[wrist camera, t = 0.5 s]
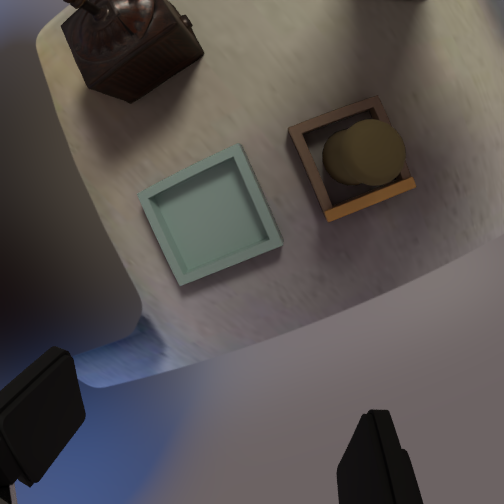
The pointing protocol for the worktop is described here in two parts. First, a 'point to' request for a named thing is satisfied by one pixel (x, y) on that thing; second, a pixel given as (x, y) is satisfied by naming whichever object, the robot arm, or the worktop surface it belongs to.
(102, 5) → the brown coffee grinder
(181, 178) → the tray
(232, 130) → the worktop surface
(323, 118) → the holder frame
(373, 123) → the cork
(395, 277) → the worktop surface
